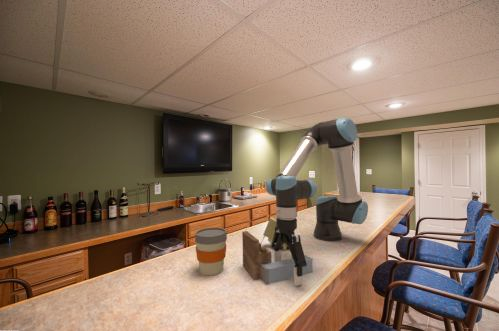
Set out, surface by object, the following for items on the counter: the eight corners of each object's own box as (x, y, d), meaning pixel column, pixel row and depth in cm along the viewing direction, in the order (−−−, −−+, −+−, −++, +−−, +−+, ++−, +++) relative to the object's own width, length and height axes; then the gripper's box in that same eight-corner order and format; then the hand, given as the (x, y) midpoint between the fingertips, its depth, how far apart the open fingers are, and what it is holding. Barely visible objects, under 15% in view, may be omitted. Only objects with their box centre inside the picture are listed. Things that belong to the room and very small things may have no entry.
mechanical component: (290, 264, 101) (307, 227, 100) (257, 248, 104) (273, 211, 103) (290, 257, 108) (305, 222, 107) (259, 242, 112) (274, 208, 110)
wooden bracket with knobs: (258, 262, 89) (257, 229, 89) (271, 276, 78) (271, 238, 78) (242, 265, 86) (242, 231, 86) (254, 280, 75) (253, 240, 75)
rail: (305, 267, 84) (305, 254, 84) (312, 272, 80) (312, 258, 80) (260, 279, 76) (260, 264, 76) (266, 284, 72) (266, 269, 72)
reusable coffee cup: (232, 264, 87) (231, 228, 87) (218, 280, 75) (217, 238, 75) (206, 261, 91) (205, 226, 91) (188, 275, 79) (188, 235, 80)
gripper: (262, 212, 88) (263, 263, 88) (297, 227, 65) (298, 296, 65) (278, 210, 91) (279, 260, 91) (317, 224, 68) (318, 291, 67)
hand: (287, 275), depth 78 cm, fingers open, 13 cm apart
